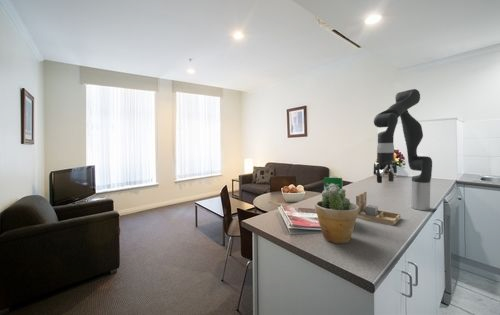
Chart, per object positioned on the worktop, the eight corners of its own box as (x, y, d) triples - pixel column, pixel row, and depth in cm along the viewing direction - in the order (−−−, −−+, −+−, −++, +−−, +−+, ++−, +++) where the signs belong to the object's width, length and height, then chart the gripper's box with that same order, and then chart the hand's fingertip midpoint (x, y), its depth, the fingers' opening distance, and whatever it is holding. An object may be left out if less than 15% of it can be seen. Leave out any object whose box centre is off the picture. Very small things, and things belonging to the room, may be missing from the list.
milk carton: (342, 218, 122) (342, 175, 121) (342, 224, 114) (341, 177, 112) (325, 216, 126) (325, 174, 124) (324, 222, 118) (323, 177, 116)
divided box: (365, 212, 131) (365, 191, 130) (400, 219, 118) (400, 196, 117) (356, 218, 121) (356, 196, 121) (393, 226, 108) (393, 201, 107)
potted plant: (310, 230, 107) (310, 181, 106) (348, 229, 107) (348, 180, 105) (322, 247, 89) (321, 188, 87) (367, 247, 88) (367, 187, 87)
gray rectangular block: (369, 214, 125) (369, 204, 125) (377, 216, 122) (377, 206, 121) (366, 216, 122) (366, 206, 122) (375, 218, 119) (375, 208, 118)
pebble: (360, 215, 124) (360, 210, 124) (366, 217, 121) (366, 211, 121) (358, 217, 122) (358, 211, 121) (364, 218, 119) (364, 213, 119)
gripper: (388, 151, 119) (387, 179, 119) (369, 152, 113) (369, 182, 114) (401, 151, 112) (401, 182, 112) (382, 152, 106) (382, 184, 107)
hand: (385, 182), depth 113 cm, fingers open, 8 cm apart
